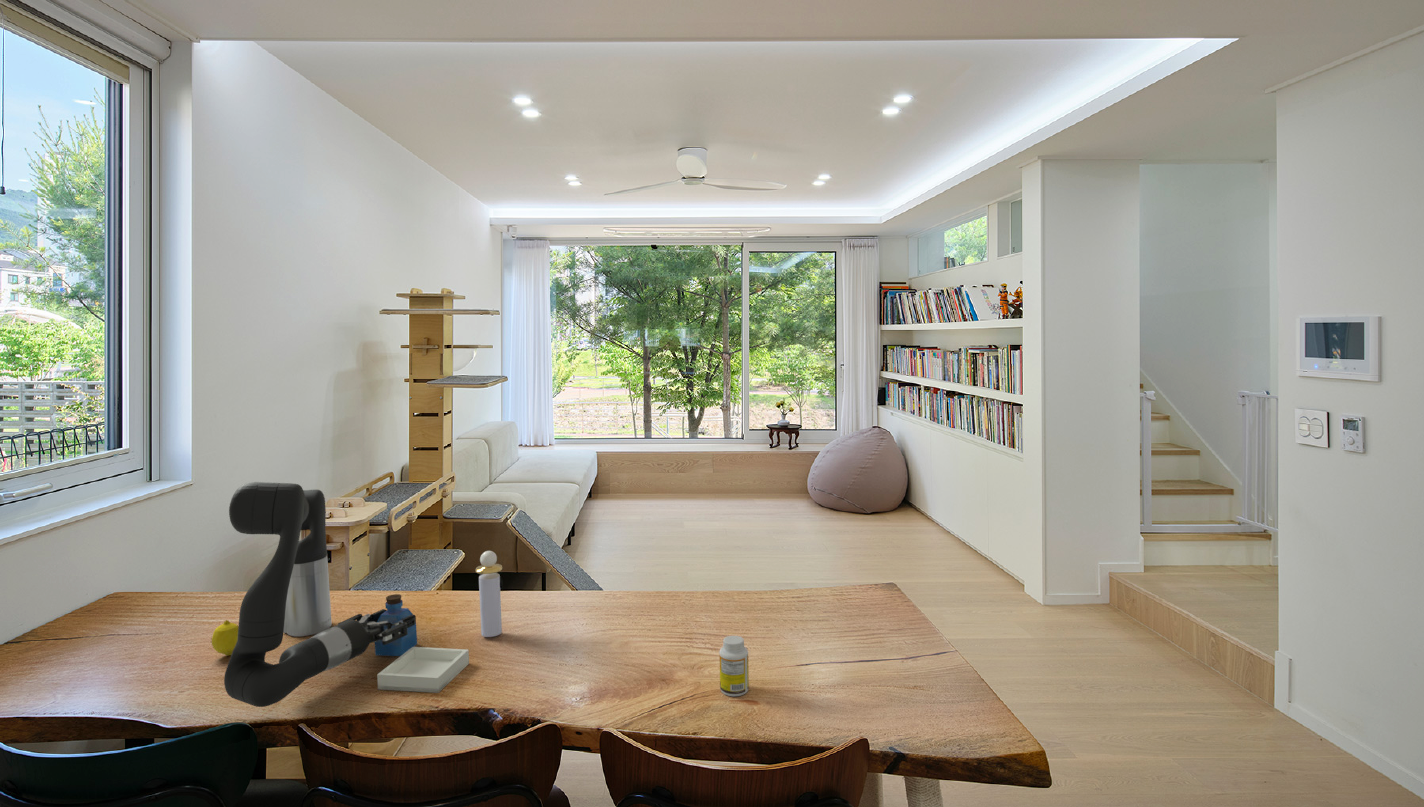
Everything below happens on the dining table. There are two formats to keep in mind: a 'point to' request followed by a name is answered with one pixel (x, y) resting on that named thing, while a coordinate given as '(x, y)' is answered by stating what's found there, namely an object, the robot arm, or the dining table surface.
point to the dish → (423, 669)
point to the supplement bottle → (734, 666)
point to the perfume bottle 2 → (490, 594)
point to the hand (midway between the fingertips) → (400, 616)
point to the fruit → (225, 638)
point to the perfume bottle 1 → (394, 614)
